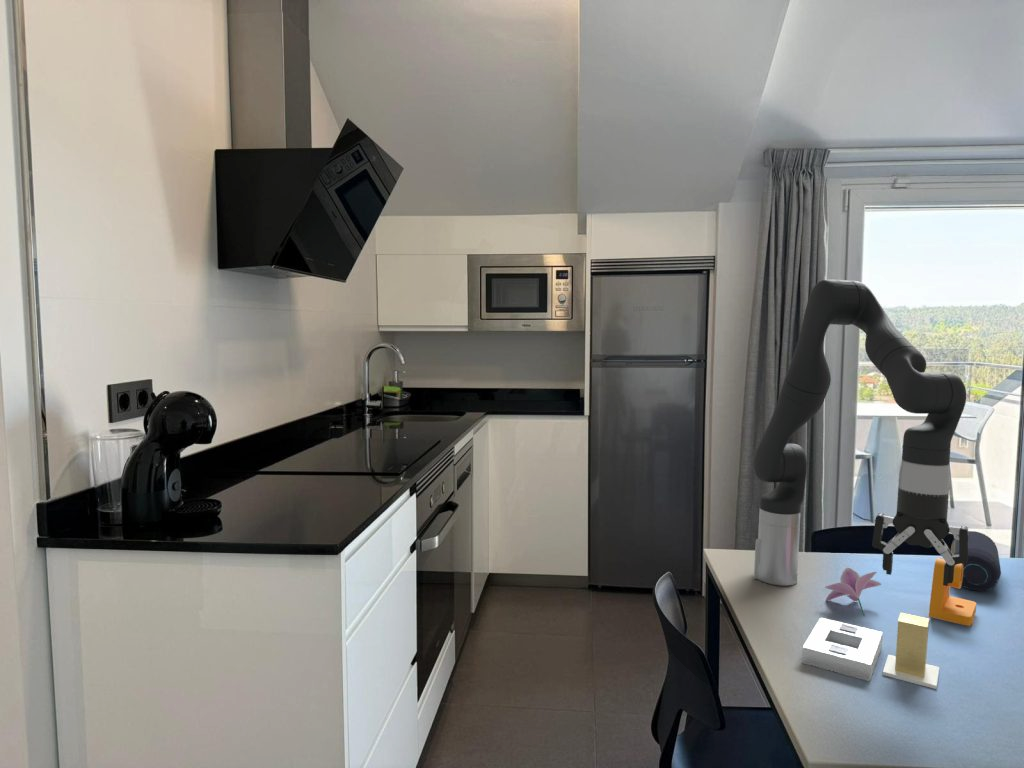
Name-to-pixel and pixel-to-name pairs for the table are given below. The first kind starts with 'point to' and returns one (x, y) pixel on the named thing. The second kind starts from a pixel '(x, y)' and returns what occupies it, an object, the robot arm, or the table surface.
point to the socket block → (843, 648)
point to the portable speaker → (979, 562)
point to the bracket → (950, 597)
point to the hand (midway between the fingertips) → (916, 578)
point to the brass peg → (912, 644)
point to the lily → (852, 585)
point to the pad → (928, 680)
